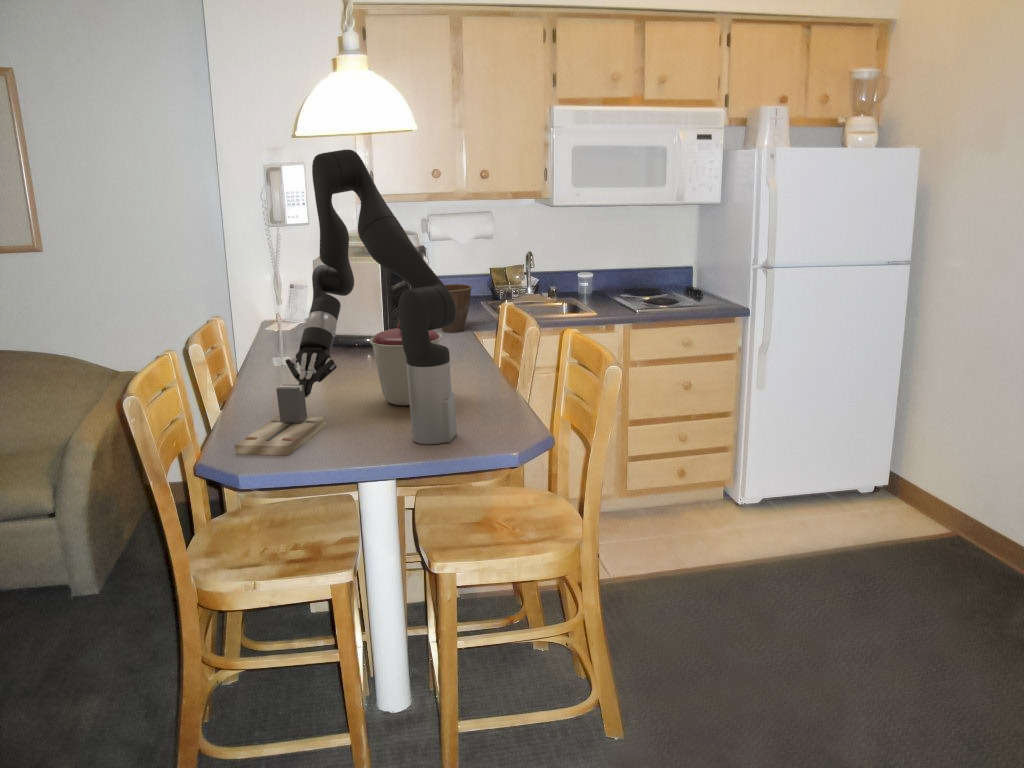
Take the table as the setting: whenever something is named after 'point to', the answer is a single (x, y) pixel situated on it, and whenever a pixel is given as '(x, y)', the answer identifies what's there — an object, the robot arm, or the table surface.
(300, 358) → the robot arm
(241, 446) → the fader panel
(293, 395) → the fader knob
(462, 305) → the plant pot
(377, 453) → the table surface
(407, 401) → the canister
